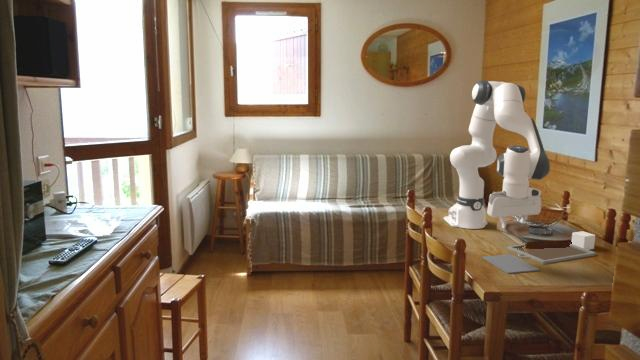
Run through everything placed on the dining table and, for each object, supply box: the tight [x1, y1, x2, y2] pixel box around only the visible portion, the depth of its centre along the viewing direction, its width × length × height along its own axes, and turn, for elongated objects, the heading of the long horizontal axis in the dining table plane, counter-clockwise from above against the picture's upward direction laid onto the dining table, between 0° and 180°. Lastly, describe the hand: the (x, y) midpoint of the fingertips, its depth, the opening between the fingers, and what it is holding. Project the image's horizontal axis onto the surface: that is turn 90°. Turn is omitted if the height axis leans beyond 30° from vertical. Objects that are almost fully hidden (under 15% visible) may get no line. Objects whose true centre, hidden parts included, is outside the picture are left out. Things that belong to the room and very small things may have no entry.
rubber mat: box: [481, 253, 541, 275], centre depth 181 cm, size 17×13×1 cm
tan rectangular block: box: [496, 217, 530, 238], centre depth 179 cm, size 11×5×4 cm, turn 21°
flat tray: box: [506, 243, 597, 265], centre depth 195 cm, size 19×2×30 cm
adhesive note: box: [570, 230, 596, 251], centre depth 200 cm, size 6×6×6 cm
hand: (512, 227), depth 179 cm, fingers closed on tan rectangular block, 5 cm apart
